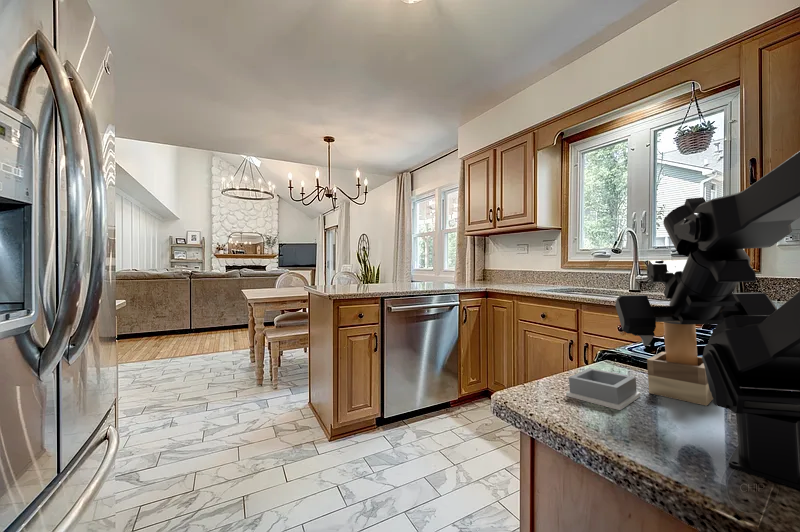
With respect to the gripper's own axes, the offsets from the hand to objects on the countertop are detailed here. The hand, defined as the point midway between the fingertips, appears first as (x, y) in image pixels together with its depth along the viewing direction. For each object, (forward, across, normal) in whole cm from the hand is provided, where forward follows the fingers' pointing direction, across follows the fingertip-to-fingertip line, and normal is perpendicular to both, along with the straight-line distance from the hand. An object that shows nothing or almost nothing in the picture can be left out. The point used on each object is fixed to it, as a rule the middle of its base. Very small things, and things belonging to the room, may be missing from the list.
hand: (676, 344), depth 57 cm
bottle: (+2, 0, +4) cm, 5 cm away
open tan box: (+4, 0, +6) cm, 8 cm away
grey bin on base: (+2, +12, +9) cm, 15 cm away
